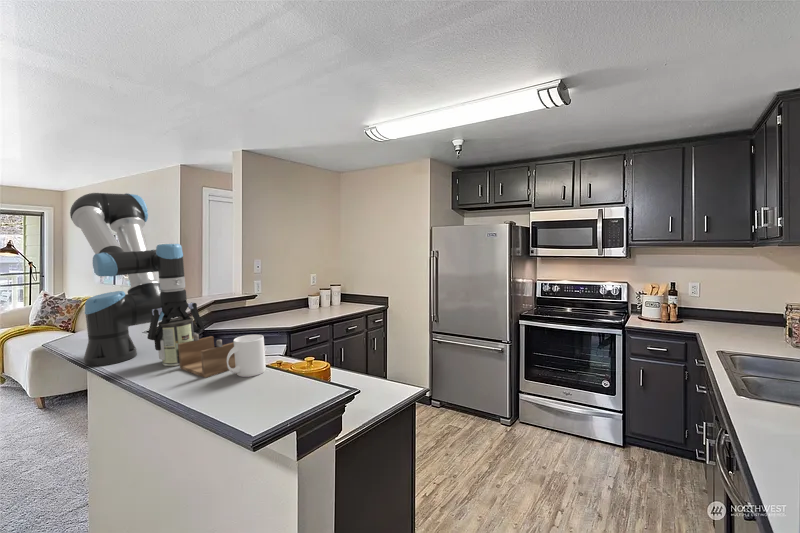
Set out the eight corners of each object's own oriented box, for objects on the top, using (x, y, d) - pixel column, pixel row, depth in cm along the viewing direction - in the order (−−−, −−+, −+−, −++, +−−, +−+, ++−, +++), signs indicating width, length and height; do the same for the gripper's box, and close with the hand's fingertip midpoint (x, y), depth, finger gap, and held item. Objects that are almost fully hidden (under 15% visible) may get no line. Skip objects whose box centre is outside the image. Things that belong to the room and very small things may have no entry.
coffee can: (175, 356, 144) (171, 317, 142) (202, 356, 143) (199, 317, 141) (154, 366, 133) (150, 324, 132) (184, 366, 132) (180, 323, 131)
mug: (219, 378, 120) (216, 342, 119) (254, 366, 130) (252, 333, 129) (236, 383, 115) (233, 346, 114) (271, 370, 125) (269, 336, 124)
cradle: (180, 368, 131) (177, 338, 130) (213, 358, 139) (210, 330, 138) (205, 377, 121) (202, 345, 120) (239, 367, 130) (236, 336, 129)
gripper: (140, 295, 125) (147, 366, 127) (211, 286, 143) (216, 347, 145) (130, 294, 129) (137, 362, 131) (200, 284, 147) (206, 344, 149)
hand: (179, 354), depth 138 cm, fingers closed on coffee can, 10 cm apart
